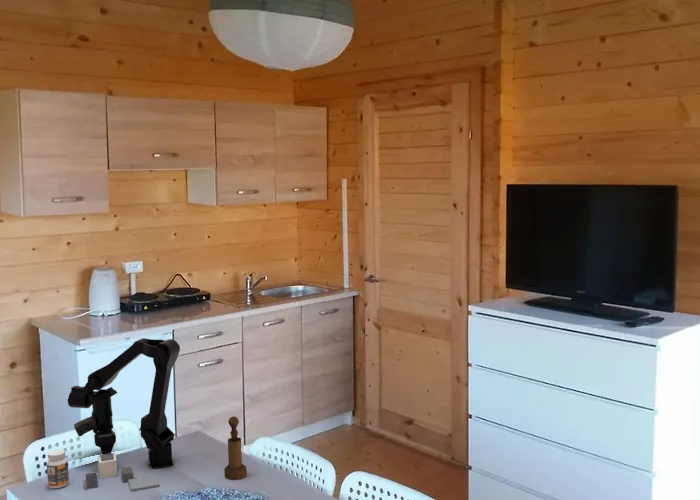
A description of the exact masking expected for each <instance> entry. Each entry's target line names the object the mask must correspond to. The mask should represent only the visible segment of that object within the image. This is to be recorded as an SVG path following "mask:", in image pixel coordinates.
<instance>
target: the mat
mask: <svg viewBox="0 0 700 500" xmlns="http://www.w3.org/2000/svg"><path fill="white" fill-rule="evenodd" d="M128 486H129V489H130V492H136V491H142V490H148V489H152V488H153V489H154V488H157V487H160V481H159V479H158V477H157V474H156V473H155V474H150V475H143V476H138V477H137V476H136V479H129V480H128Z"/></svg>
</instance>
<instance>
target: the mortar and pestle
mask: <svg viewBox="0 0 700 500" xmlns="http://www.w3.org/2000/svg"><path fill="white" fill-rule="evenodd" d="M239 422H240V421H239V418H238V417H237V416H234V415H233V416H230V417H229V419H228V425H229V427H230V429H231V431H230V432H229V433H230V438H228V439H227V451H228V454H227V455H228V464H227V465H226V466H225V467H224V469H223V470H224V477H225V478H226V479H228V480H241V479H244V478H245V477H247V475H248V473H247V466H246V465H245V464H243V457H242V438H241V437H238V436H239V435H238V434H239V431H238V429H237V427H238V425H239Z"/></svg>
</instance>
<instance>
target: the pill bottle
mask: <svg viewBox="0 0 700 500" xmlns="http://www.w3.org/2000/svg"><path fill="white" fill-rule="evenodd" d="M47 458H48V460H47V462H46V473H47V474H46V476H47V486H48V488H51V489H61V488H64V487H66V486H67V485H68V484H69V482H70V480H69V479H70V478H69V475H70V474H69V461H68V458H67V457H66V450H65V449H55V450H51V451H49V452H48V453H47Z"/></svg>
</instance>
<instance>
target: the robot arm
mask: <svg viewBox="0 0 700 500" xmlns="http://www.w3.org/2000/svg"><path fill="white" fill-rule="evenodd" d="M180 351H181V347H180V344H179V342H177V341H176V340H175V339H172V338H171V339H154V338H153V339H152V338H151V339H150V338H145V337H141V338H139V339H138V340H136V341H134V342H133V343H132V344H131V345H130V346H129V347H128V348H126V349H125V350H124V351H123V352H121V354H119V355H118V356H117V357H116V358H114V359H113V360H112V361H111V362H110V363H108V364H106V365H104V366H103V367H101V368H99V369H96V370H95V371H93V372H91V373H89V375H88V376H87V382H86V383H85V384H84V386H80V385H74V386H72V387H71V388H70V392H69V394H68V398H67V404H68V407H69V408H72V409H73V408H75V409H78V408H79V409H90V407H92V412H91V416H89V417H88V416H87V417H86V418H84V419H82V420H80V421H77V422H75V423H74V424H73V426H74V427H73V428H74V429H75V432H76V434H77V436H78V437H82V436H84V435H86V434H87V433H88V432H91V431H92V433H93V434H94V435H93V437H94V438H93V439H94V445H95V447H99V448H100V451H101V455H103V454H109V453H113V452H112V451H113V449H114V446H115V445H116V442H117V434H116V432H115V431H114V430H113V429H114V424H113V410H112V409H113V408H112V407H113V405H112V397H113V396H115V395H116V394H118V391H117V390H116V389H114V387H112V386H110V387H108V388H106V389H104V388H105V387H107V386H109V385H111V384H112V383H113V382H114V381H115V379H116V378H117V377H118V375H119V373H120V372H121V371H122V370H124V369H125V367H127V366H128V365H130V364H131V363H133V361H134V360H136V359H137V358H139V356H141V355H144V356H146V358H147V357H148V358H151V359H152V362H153V365H154V367H155V373H154V379H153V386H152V393H151V399H150V405H149V410H148V411H149V412H148V413H147V414H145V415H144V416H143V417H141V419H140V427H139V429H138V431H140V438H142V439H143V441H144V444H145V446H146V448H147V454H148V456H147V457H148V464H149V465H150V466H151V469H159V468H166V467H169V466H174V462H173V451H172V449H173V448H172V443H171V442H172V441H174V438H175V436H176V434H175V433H174V432H173V430H171V428H170V427H168V419H167V416H166V413H165V412H166V411H165V410H166V406H167V400H168V393H169V388H170V379H171V373H172V370H173V368H174V365H175V363H176V362H177V360H178V356H179V354H180Z"/></svg>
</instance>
